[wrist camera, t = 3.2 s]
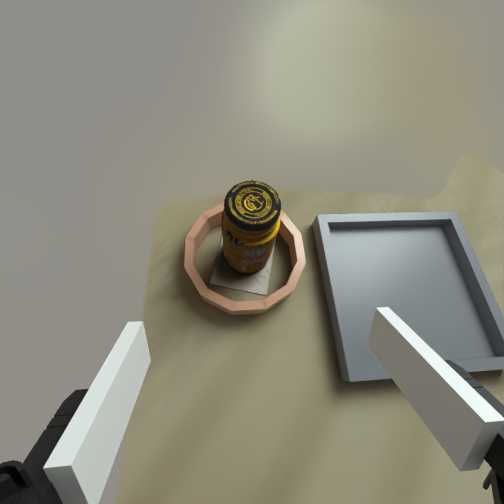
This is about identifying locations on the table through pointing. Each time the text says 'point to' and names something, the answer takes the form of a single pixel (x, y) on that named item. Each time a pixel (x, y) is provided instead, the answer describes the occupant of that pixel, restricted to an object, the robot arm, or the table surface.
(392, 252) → the tray
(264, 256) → the condiment
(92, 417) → the robot arm
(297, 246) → the ring holder
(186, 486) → the table surface
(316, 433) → the table surface
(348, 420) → the table surface
